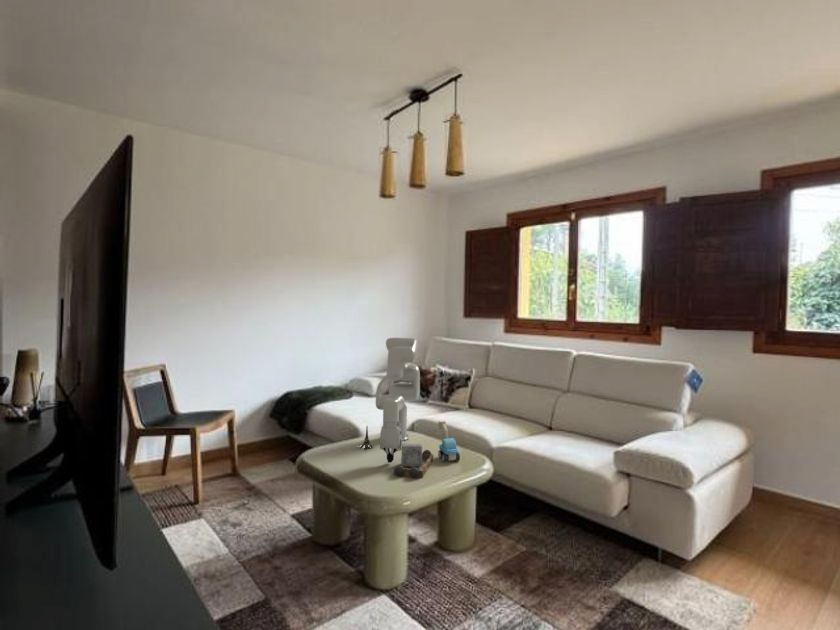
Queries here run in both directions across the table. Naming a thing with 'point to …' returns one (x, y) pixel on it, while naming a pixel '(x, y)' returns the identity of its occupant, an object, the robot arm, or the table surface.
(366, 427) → the eiffel tower figurine
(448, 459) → the toy excavator
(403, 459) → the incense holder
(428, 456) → the chassis bay
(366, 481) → the table surface
